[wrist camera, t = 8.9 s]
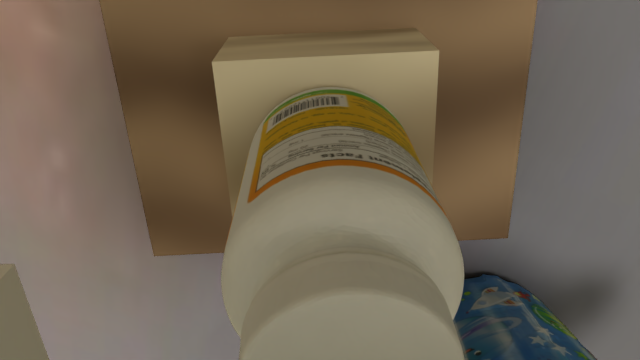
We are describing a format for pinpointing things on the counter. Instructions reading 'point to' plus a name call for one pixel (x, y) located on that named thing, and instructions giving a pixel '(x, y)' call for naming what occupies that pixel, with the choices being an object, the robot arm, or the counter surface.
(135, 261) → the counter surface
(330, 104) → the supplement bottle
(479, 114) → the board
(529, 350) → the snack cup
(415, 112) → the birch block
